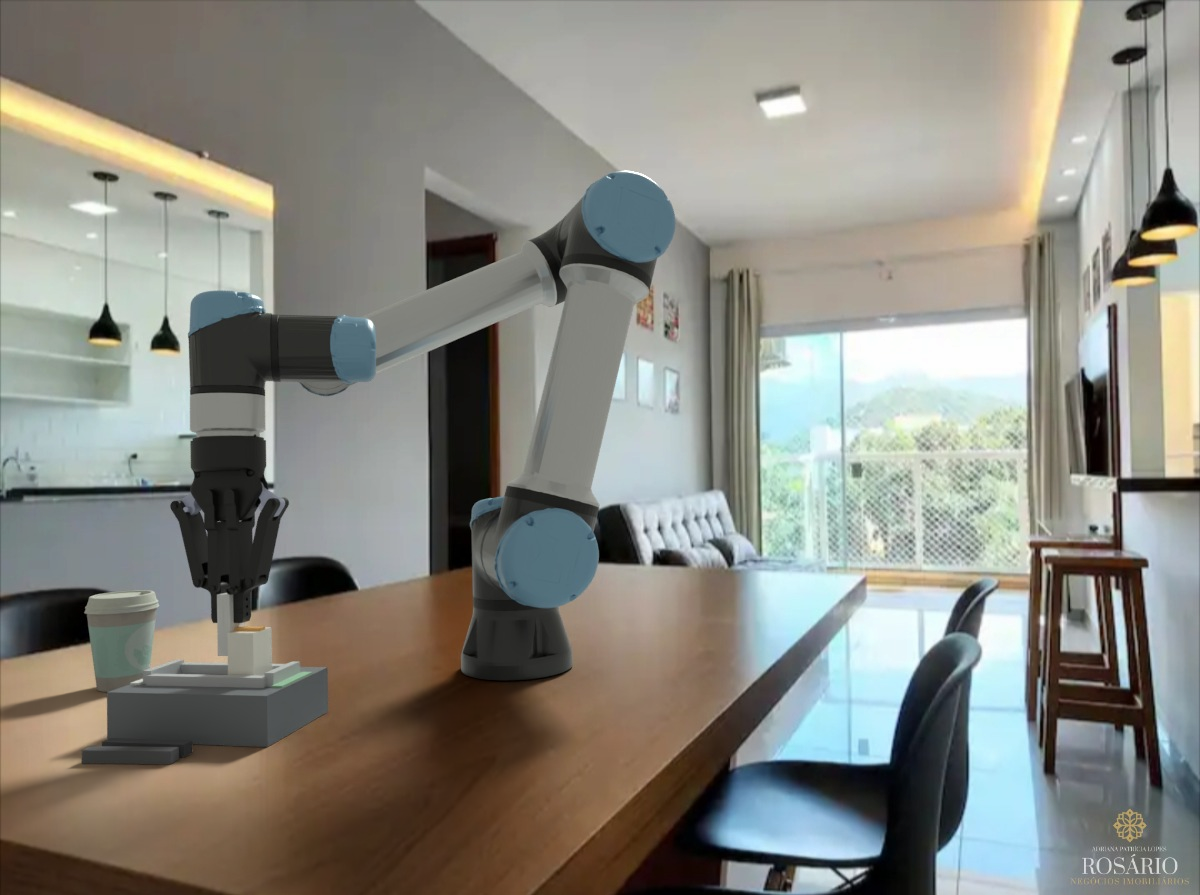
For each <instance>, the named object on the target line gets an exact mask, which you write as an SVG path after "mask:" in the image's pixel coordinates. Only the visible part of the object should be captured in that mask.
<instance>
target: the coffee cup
mask: <svg viewBox="0 0 1200 895" xmlns="http://www.w3.org/2000/svg"><path fill="white" fill-rule="evenodd" d="M158 607H160V604H159V599H157V595H156V593H155V590H154V591H153V590H144V589H143V590H142V589H141V590H122V591H112V592H111V591H110V592H104V593H98V594H94V595H91V596H89V597H88V601H87V604H86V606H85V607H84V609H85V610H84V612H83V613H84V614H85V615H86V618H87V627H88V633H89V642H90V648H91V650H90V651H91V656H92V663H93V671H94V677H95V678H94V679H95V685H96V690H97V691H99V692H102V693H107V692H109V691H112V690H115V689H118V688H121V687H124V686H126V685H129V684H130V683H131V682H134V681H137V680H140V679H143V671H144V670H147V669H150V668H151V663H152V654H153V644H154V636H155V627H156V620H157V610H158Z"/></svg>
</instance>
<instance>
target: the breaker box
mask: <svg viewBox="0 0 1200 895" xmlns="http://www.w3.org/2000/svg"><path fill="white" fill-rule="evenodd" d="M328 673H329V672H328V667H327V666H320V667H319V666H301V661H290V662H287V663H272V670H270V671H268V672H266V673H264V674H265V676H259V675H228V662H194V661H193V662H189V661H188V662H187V661H186V662H185V660H184V659H174V660H172V661H168V662H165V663H162V664H159V665H157V666H152V667H150V669H147V670H144V671H143V679H140V680H137V681H134V682H131V683H130V684H129V685H126V686H124V687H121V688H118V689H115V690H112V691H109V692H106V733H107V734H106V738H107V739H109V738H131V739H161V740H191V741H192V745H201V746H204V745H205V746H228V747H230V746H233V747H258V748H259V747H260V748H261V747H262V748H269V747H270V746H272V745H273V744H275V743H277V742H278V741H281V740H282V739H284V738H285V737H287V736H289V735H291V734H292V733H294V732H296V731H297V730H299V729H301V728H303V727H305V726H306V725H308V724H309V723H311V722H313V721H315V720H316V719H319V717H322V716H323V715H325V714H327V713H328V712H329V676H328ZM107 739H106V740H107Z"/></svg>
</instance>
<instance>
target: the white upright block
mask: <svg viewBox="0 0 1200 895" xmlns="http://www.w3.org/2000/svg"><path fill="white" fill-rule="evenodd" d="M272 629H273V628H272V627H270V626H269V627H268V626H259V625H258V626H253V625H252V626H248V625H247V626H246V625H245V626H240V627H236V628H234V631H232V632H229V633H227V637H228V656H227V663H228V675H259V676H265V674H264V673H266V672H268V671H270V670H272V664H273V643H272V642H273V640H272V639H273V638H272V636H273V632H272V631H273V630H272Z"/></svg>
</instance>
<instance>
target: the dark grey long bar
mask: <svg viewBox="0 0 1200 895" xmlns="http://www.w3.org/2000/svg"><path fill="white" fill-rule="evenodd" d="M101 746H124V747H179V758H185V757H188V756H189V755H191V754H193V752H194V751H193V744H192V741H191V740H161V739H131V738H109V739H105V740H103V741H101Z"/></svg>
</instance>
